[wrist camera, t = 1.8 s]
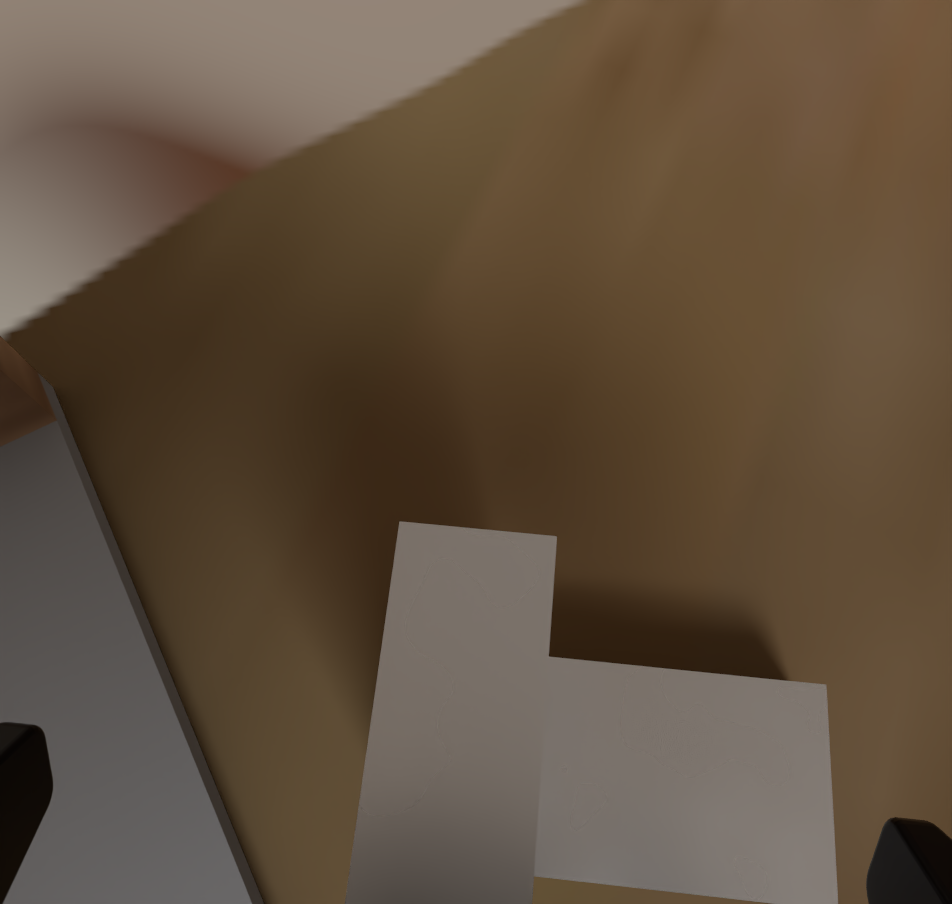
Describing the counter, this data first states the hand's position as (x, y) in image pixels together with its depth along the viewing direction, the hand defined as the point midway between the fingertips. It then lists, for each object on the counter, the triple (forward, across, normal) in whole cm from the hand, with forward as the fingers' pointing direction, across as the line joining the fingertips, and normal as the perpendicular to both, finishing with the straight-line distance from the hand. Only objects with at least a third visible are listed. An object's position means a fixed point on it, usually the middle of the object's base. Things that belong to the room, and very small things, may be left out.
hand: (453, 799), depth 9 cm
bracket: (+7, -3, +6) cm, 10 cm away
